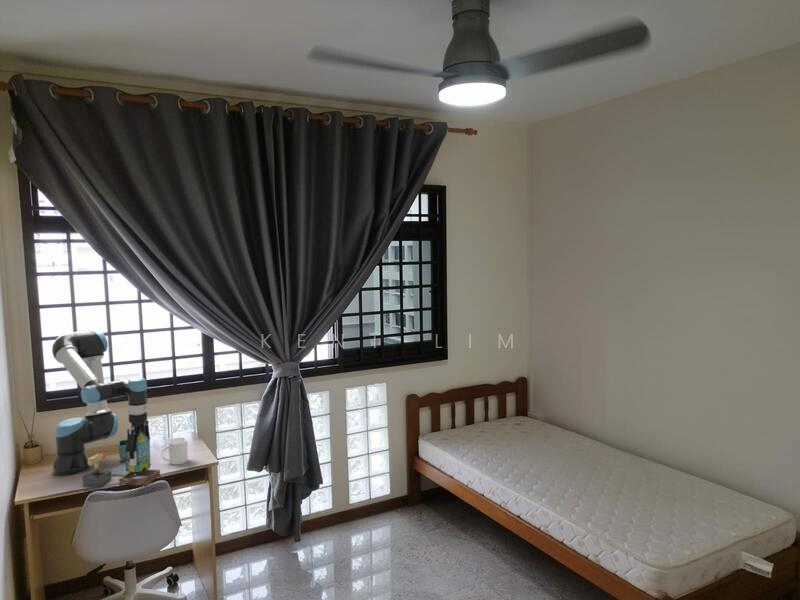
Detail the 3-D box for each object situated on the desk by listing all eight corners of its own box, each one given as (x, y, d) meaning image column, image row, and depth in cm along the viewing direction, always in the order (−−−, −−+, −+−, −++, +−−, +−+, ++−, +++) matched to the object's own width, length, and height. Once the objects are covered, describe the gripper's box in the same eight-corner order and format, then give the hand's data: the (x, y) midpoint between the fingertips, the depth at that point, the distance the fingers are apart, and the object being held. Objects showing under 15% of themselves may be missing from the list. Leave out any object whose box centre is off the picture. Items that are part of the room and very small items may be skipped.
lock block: (83, 485, 245) (82, 477, 245) (94, 478, 253) (94, 469, 253) (100, 486, 244) (100, 477, 244) (111, 479, 252) (111, 470, 252)
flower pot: (138, 455, 281) (138, 438, 281) (138, 461, 273) (138, 443, 273) (119, 457, 278) (118, 440, 277) (118, 464, 270) (118, 446, 269)
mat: (106, 475, 257) (105, 473, 257) (123, 463, 271) (123, 462, 271) (135, 476, 256) (135, 475, 256) (150, 464, 270) (150, 463, 270)
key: (92, 477, 244) (91, 459, 243) (88, 477, 244) (87, 458, 243) (105, 469, 253) (105, 451, 252) (101, 469, 253) (101, 451, 252)
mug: (159, 462, 273) (159, 441, 272) (185, 457, 280) (184, 436, 279) (163, 468, 266) (163, 446, 265) (189, 462, 273) (189, 441, 272)
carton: (138, 474, 247) (138, 434, 245) (125, 470, 250) (124, 432, 248) (151, 467, 254) (151, 429, 252) (138, 464, 257) (138, 427, 255)
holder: (119, 484, 247) (119, 478, 247) (133, 473, 259) (133, 468, 258) (146, 485, 246) (146, 480, 246) (159, 475, 258) (159, 469, 257)
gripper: (132, 420, 239) (133, 471, 241) (157, 406, 260) (158, 452, 262) (116, 419, 239) (117, 470, 242) (142, 405, 260) (143, 451, 263)
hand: (138, 461), depth 252 cm, fingers closed on carton, 8 cm apart
